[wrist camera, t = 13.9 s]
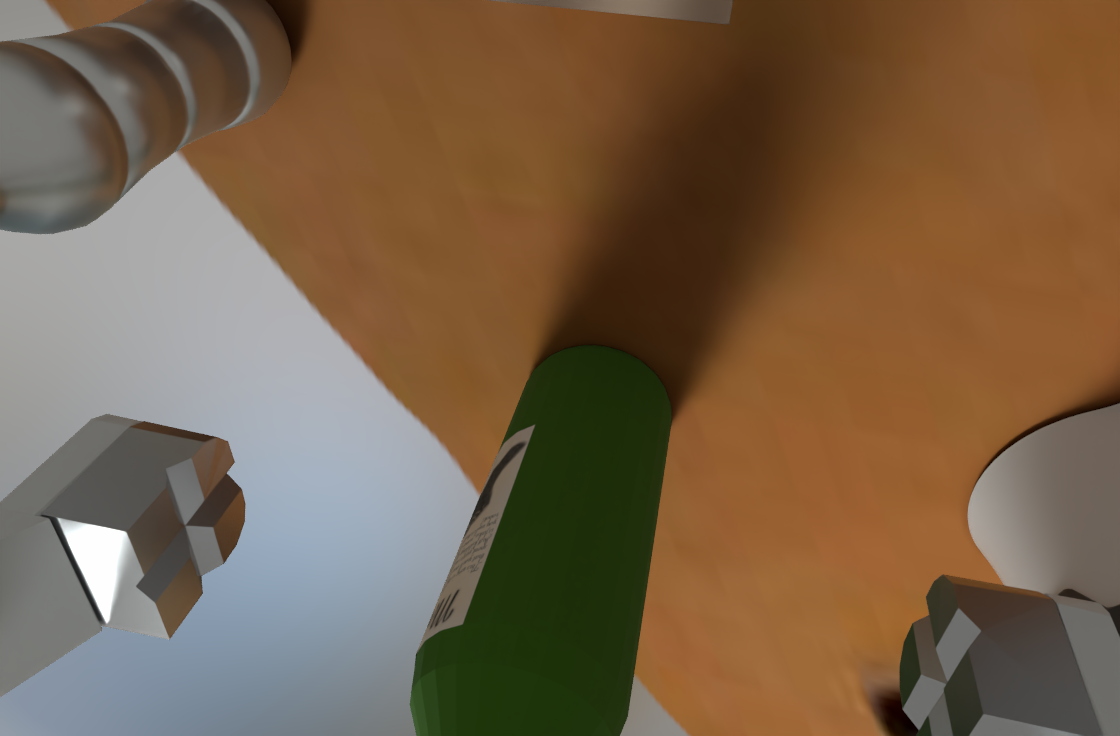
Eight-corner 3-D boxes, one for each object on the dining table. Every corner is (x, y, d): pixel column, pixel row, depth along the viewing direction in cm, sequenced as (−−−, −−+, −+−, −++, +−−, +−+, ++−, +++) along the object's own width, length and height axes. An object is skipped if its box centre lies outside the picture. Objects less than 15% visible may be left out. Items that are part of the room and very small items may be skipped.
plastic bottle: (160, 38, 40) (-237, 202, 24) (222, -69, 36) (-199, 41, 20) (265, 132, 42) (-40, 343, 26) (333, 40, 38) (27, 219, 22)
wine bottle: (549, 320, 45) (258, 1033, 19) (696, 376, 45) (605, 1160, 19) (508, 429, 50) (240, 1099, 25) (640, 479, 51) (511, 1197, 25)
